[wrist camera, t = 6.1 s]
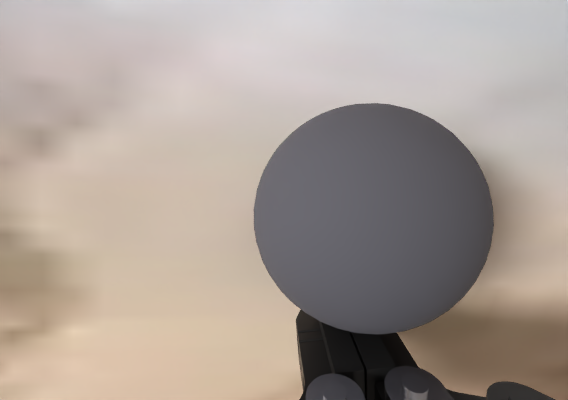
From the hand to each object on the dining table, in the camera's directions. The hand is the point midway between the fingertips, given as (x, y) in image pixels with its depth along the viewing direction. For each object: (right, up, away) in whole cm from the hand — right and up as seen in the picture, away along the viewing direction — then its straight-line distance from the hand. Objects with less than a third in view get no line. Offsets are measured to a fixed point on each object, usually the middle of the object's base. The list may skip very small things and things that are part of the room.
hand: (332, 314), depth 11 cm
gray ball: (0, +4, -2) cm, 4 cm away
